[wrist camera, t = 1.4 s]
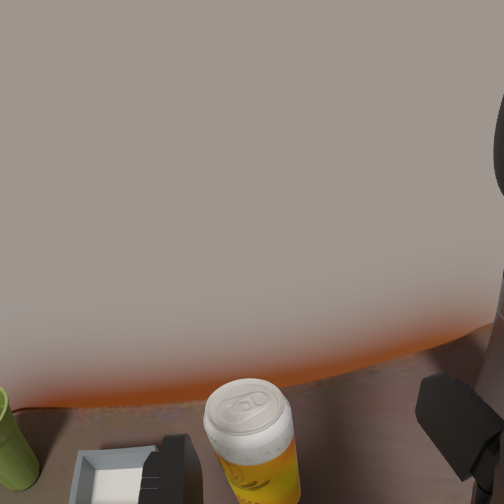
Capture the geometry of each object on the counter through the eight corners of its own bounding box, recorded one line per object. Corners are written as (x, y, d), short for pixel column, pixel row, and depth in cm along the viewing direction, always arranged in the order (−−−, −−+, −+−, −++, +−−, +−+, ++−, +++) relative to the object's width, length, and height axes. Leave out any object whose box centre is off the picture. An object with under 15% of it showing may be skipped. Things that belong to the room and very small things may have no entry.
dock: (185, 455, 31) (174, 434, 30) (196, 543, 20) (181, 529, 18) (81, 463, 29) (65, 443, 28) (70, 541, 18) (47, 525, 17)
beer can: (230, 487, 26) (188, 392, 21) (283, 465, 28) (264, 364, 23) (255, 530, 21) (216, 452, 16) (312, 503, 23) (307, 412, 18)
